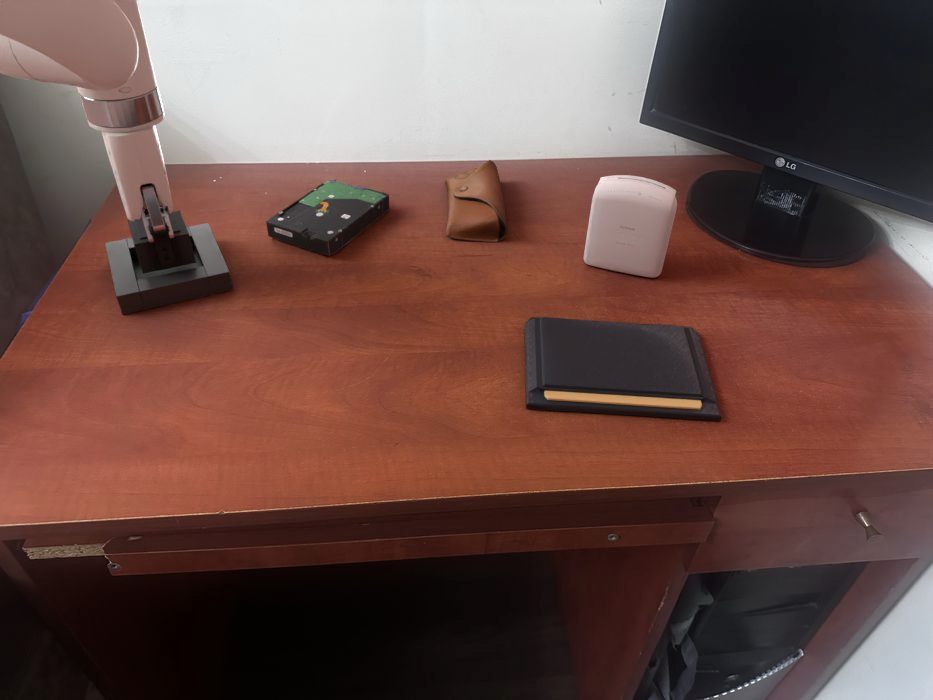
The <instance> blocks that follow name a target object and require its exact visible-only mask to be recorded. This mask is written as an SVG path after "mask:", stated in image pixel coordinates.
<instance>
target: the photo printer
mask: <svg viewBox="0 0 933 700" xmlns="http://www.w3.org/2000/svg"><path fill="white" fill-rule="evenodd" d="M676 195H677V190H676V189H675V188H673V187H671V186H670V185H668V184H665V183H664V182H660V181H657V180H655V179H652V178H647V177H643V176H637V175H629V174H627V175H626V174H615V175H606V176H602V177H600V178H599V181H598V183H597V185H596V186H595V189H594V192H593V195H592V200H591V206H590V212H589V218H588V225H587V230H586V231H587V232H586V238H585V244H584V250H583V251H584V252H583V261H584V263H585V264H586V265H589V266H591V267H596V268H600V269H604V270H610V271H613V272H619V273H624V274H628V275H634V276H637V277H638V276H639V277H645V278H653V279H654V278H657V277H659V276H660V275H661V274H662V272H663V267H664V263H665V259H666V255H667V251H668V246H669V242H670V238H671V235H672V229H673V225H674V221H675V218H676V212H677V208H678V200H677V197H676Z"/></svg>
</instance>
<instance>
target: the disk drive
mask: <svg viewBox="0 0 933 700" xmlns="http://www.w3.org/2000/svg"><path fill="white" fill-rule="evenodd" d="M389 210H390V194H388V193H386V192H381V191H380V190H376V189H375V190H374V189H371V188H369V187H368V188H367V187H365V186H362V185H358V186H356V185H353V184H350V183H345V182H342V181H337V179H336V178H332V179H331V180H326V181H325V182H321V184H318V185H317V186H316V187H314V188H313V189H311V190H310V191H309V192H307V193H305V194H304V195H302V196H301V197H300V198H298V199H296V200H295V201H294V202H292V203H291V204H289V205H288V206H286V207H285V208H282V209H281V210H280V211H279V212H277V213H275V214H273V215H272V216H271V217H269V219H267V220H266V221H265V225H266V231H267V236H268V237H269V238H272V239H276V240H277V241H279V242H283V243H286V244H290V245H291V246H295V247H298V248H302V249H304V250H307V251H310V252H314V253H317V254H320V255H325V256H328V257H332V255H335V254H336V253H337V252H339V251H340V250H341V249H342V248H343V247H345V246H347V245H348V243H350V242H351V241H353V240H354V239H355V238H356V237H357V236H359V235H360V234H361V233H362V232H364V231H365V230H367V228H368V227H370V226H371V225H372V224H374V223H375V222H376V221H378V220H379V219H380V218H381V217H382V216H383V215H385V214H386V213H387V212H388V211H389Z"/></svg>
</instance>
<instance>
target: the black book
mask: <svg viewBox="0 0 933 700" xmlns="http://www.w3.org/2000/svg"><path fill="white" fill-rule="evenodd" d="M523 338H524V357H525V409H528V410H537V411H538V410H539V411H549V412H551V411H552V412H576V413H591V414H605V415H606V414H607V415H620V416H621V415H622V416H635V417H653V418H665V419H666V418H668V419H681V420H683V419H684V420H697V421H710V422H711V421H713V422H721V420H722V419H723V416H722V413H721V409H720V407H719V401H718V396H717V391H716V388H715V385H714V380H713V377H712V373H711V370H710V367H709V364H708V363H709V362H708V360H707V357H706V353H705V349H704V346H703V343H702V340H701V337H700V334H699V332H698V331H697V330H696V329H695V328H694V327H692V326H685V325H676V324H675V325H674V324H656V323H639V322H623V321H622V322H621V321H609V320H608V321H607V320H590V319H579V318H578V319H577V318H562V317H550V316H531V317H530V318H528V319H527V320H526V321H525V323H524V337H523Z"/></svg>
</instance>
